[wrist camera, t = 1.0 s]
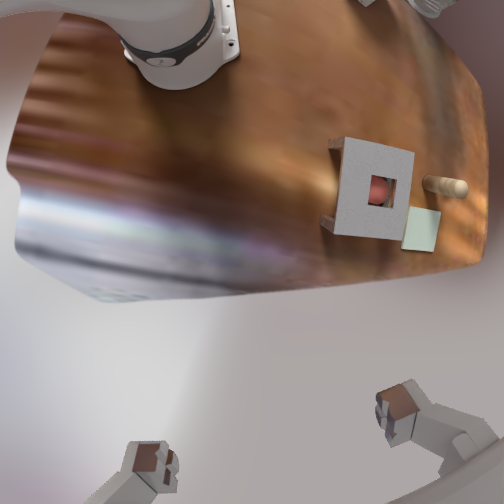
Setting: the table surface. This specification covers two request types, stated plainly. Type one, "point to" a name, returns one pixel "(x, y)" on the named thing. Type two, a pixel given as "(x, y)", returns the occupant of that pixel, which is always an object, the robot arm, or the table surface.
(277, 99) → the table surface
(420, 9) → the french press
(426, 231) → the coaster
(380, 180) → the button
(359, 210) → the box
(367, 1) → the supplement box
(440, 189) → the dowel
